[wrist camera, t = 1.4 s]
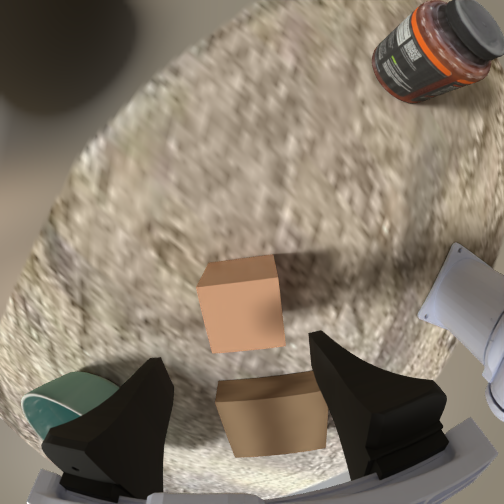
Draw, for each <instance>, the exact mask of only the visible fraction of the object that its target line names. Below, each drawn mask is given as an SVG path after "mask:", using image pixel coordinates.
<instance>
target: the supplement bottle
mask: <svg viewBox="0 0 504 504" xmlns="http://www.w3.org/2000/svg"><path fill="white" fill-rule="evenodd" d="M502 55H504V36H503V34H502V32H501V29H500V28H499V26H498V25H497V23H496V21H495V20H494V18H493V17H492V16H491V14H490V13H489V12H488V11H487V10H486V9H485V8H484V7H483V6H482V5H480V4H479V3H478V2H476V1H475V0H452V1H449V3H446V2H443V1H439V0H431V1H427V2H425V3H423V4H421V5H420V6H419V7H418V8H417V9H416V10H415V11H413V12H412V13H411V14H410V15H409V16H408V17H407V18H406V19H405V20H404V21H403V22H402V23H401V24H399V25H398V26H397V27H396V28H395V29H394V30H393V31H392V32H391V33H390V34H389V35H388V36H387V37H386V38H385V39H384V40H383V41H382V42H381V43H380V44H379V45H378V46H377V47H376V49H375V50H374V53H373V56H372V66H373V69H374V73H375V75H376V77H377V79H378V81H379V82H380V84H381V85H382V86H383V87H384V88H385V90H387V91H388V92H389V93H390V94H391V95H393V96H394V97H396V98H398V99H400V100H402V101H405V102H408V103H417V102H421V101H425V100H427V99H430V98H433V97H435V96H438V95H441V94H443V93H446V92H449V91H452V90H455V89H458V88H461V87H464V86H466V85H470V84H472V83H475V82H478V81H480V80H482V79H484V78H485V77H486V76H487V75H488V73H489V71H490V67H491V60H493V59H495V58H497V57H501V56H502Z"/></svg>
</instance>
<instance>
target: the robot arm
mask: <svg viewBox="0 0 504 504" xmlns="http://www.w3.org/2000/svg"><path fill="white" fill-rule="evenodd" d="M459 248H460V249H459ZM458 250H459V251H458ZM426 314H427V315H426ZM425 315H426V316H425ZM418 317H419V318H420V319H421V320H424V321H426V322H429V323H431V324H434V325H437V326H439V327H442V328H444V329H447V330H449V331H450V332H451V333H452V334H453V335H454V336H455V337H456V338H457V339H458V340H459V341H460V342H461V343H462V344H463V345H464V346H465V347H466V348H467V349H468V350H469V351H470V352H471V353H472V354H473V355H474V356H475V357H476V358H477V359H478V360H479V361H480V362H481V363H482V364H483V365H484V366H485V369H484V372H483V374H482V376H483V377H484V378H485V379H486V380H487V381H488V384H487V387H486V391H485V395H486V400H487V403H488V405H489V406H490V409H491V411H492V412H493V413H494V415H495V416H496V417H497V418H498V419H500V420H501V421H503V422H504V275H503V274H501V273H499V272H497V271H495V270H494V269H493V268H491V267H490V266H489V265H487V264H486V263H485V262H484V261H482V260H481V259H480V258H478V257H477V256H476V255H474V254H473V253H472V252H470V251H469V250H467V249H466V248H465V247H463V246H462V245H460V244H459V243H457V242H455V243H453V245H452V247H451V249H450V251H449V254H448V256H447V258H446V260H445V262H444V264H443V267H442V269H441V271H440V273H439V275H438V277H437V279H436V281H435V283H434V285H433V287H432V289H431V291H430V292H429V294H428V296H427V298H426V300H425V302H424V303H423V305H422V307H421V309H420V311H419V312H418ZM308 334H309V344H310V355H311V366H312V369H313V373H314V376H315V379H316V382H317V384H318V387H319V389H320V391H321V393H322V395H323V398H324V400H325V402H326V404H327V406H328V408H329V411H330V413H331V415H332V417H333V420H334V422H335V425H336V429H337V432H338V435H339V438H340V441H341V445H342V448H343V452H344V455H345V459H346V463H347V466H348V470H349V474H350V478H351V481H349V482H346V483H343V484H339V485H336V486H332V487H329V488H325V489H321V490H316V491H312V492H308V493H303V494H298V495H293V496H287V497H281V498H274V499H267V500H263V499H261V498H259V497H258V496H256V495H252V494H247V493H202V494H197V493H168V492H163V456H164V444H165V438H166V433H167V429H168V424H169V420H170V415H171V411H172V406H173V397H174V386H173V384H172V381H171V379H170V377H169V375H168V373H167V370H166V368H165V366H164V364H163V361H162V359H161V357H159V358H150V359H149V360H147V361H146V362H145V363H144V364H143V365H142V366H141V367H140V368H139V369H138V370H137V371H136V373H135V374H134V375H133V376H132V377H131V378H130V379H129V380H128V381H127V382H126V383H125V384H124V385H122V386H121V387H120V388H119V389H118V390H117V391H116V392H115V393H114V394H113V395H111V396H110V397H109V398H108V399H106V400H105V401H104V402H102V403H101V404H100V405H98V406H97V407H95V408H94V409H92V410H90V411H89V412H87V413H85V414H84V415H82V416H80V417H78V418H76V419H74V420H71V421H69V422H67V423H64V424H61V425H58V426H55V427H52V428H50V429H49V431H48V433H47V435H46V437H45V439H44V441H43V443H42V445H41V446H42V450H43V451H44V453H45V454H46V455H47V457H48V458H49V459H50V460H51V461H52V462H53V463H54V464H55V465H56V466H57V467H58V468H60V469H61V470H62V471H63V472H64V473H63V475H62V477H61V476H60V475H58V474H56V473H54V472H51V471H48V470H45V469H40V472H39V474H38V476H37V478H36V480H35V483H34V485H33V488H32V490H31V492H30V494H29V497H28V499H27V504H441V503H442V502H444V501H446V500H447V499H449V498H450V497H452V496H453V495H455V494H457V493H458V492H460V491H461V490H463V489H464V488H466V487H467V486H469V485H470V484H471V483H473V482H474V481H475V480H476V479H477V478H478V477H479V476H480V475H481V474H482V473H483V471H484V470H485V469H486V468H487V467H488V466H489V465H490V464H491V462H492V461H493V460H494V459H495V458H496V457H497V455H498V452H497V450H496V449H495V448H494V447H493V445H492V444H491V442H490V441H489V440H488V438H487V437H486V436H485V435H484V433H483V432H482V431H481V429H480V428H479V427H478V425H477V424H476V423H475V422H474V420H473V419H472V418H471V417H470V418H468V419H466V420H464V421H463V422H462V423H460V424H458V425H456V426H455V427H453V428H452V429H450V430H449V431H448V432H447V433H446V434H444V433H443V432H442V430H441V429H442V428H443V425H442V423H441V422H440V421H439V420H440V417H441V415H442V413H443V411H444V408H445V405H446V401H447V397H446V395H445V393H444V392H443V391H442V390H441V388H440V387H439V386H438V385H437V384H436V383H435V382H434V381H433V380H427V379H419V378H412V377H407V376H403V375H399V374H395V373H392V372H389V371H386V370H383V369H381V368H378V367H376V366H374V365H372V364H369V363H367V362H365V361H363V360H361V359H360V358H358V357H356V356H355V355H353V354H352V353H350V352H349V351H347V350H346V349H344V348H343V347H342V346H340V345H339V344H338V343H336V342H335V341H334V340H332V339H331V338H330V337H329V336H328V335H326V334H325V333H324V332H323V331H321V330H320V331H316V332H312V333H308Z"/></svg>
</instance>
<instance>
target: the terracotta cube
mask: <svg viewBox="0 0 504 504" xmlns="http://www.w3.org/2000/svg"><path fill="white" fill-rule="evenodd" d="M196 289H197V293H198V298H199V302H200V306H201V310H202V314H203V319H204V323H205V327H206V331H207V335H208V338H209V342H210V346H211V350H212V353H225V352H237V351H247V350H257V349H266V348H274V347H282V346H286V344H285V334H284V325H283V316H282V307H281V298H280V289H279V280H278V274H277V270H276V265H275V260H274V255H273V254H272V255H264V256H257V257H249V258H242V259H234V260H226V261H219V262H211V263H208V265H207V267H206V269H205V271H204V273H203V275H202V277H201V279H200V281H199V283H198V285H197V287H196Z"/></svg>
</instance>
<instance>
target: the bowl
mask: <svg viewBox="0 0 504 504" xmlns="http://www.w3.org/2000/svg"><path fill="white" fill-rule="evenodd" d="M119 388H120V387H118V386H117V385H116V384H114V383H112V382H111V381H109V380H107V379H105V378H103V377H100V376H97V375H93V374H90V373H86V372H70V373H68V374H66V375H63V376H61V377H59V378H57V379H55V380H52V381H50V382H48V383H46V384H44V385H42V386H40V387H38V388H36V389H34V390H32V391H30V392H28V393H27V394H25V395H24V396H23V397H22V399H21V407H22V410H23V413H24V415H25V417H26V419H27V421H28V422H29V424H30V425H31V427H32V428H33V429H34V431H35V432H36V433H37V434H38V436H39V437H40V438H41V439H42V440H43V441H44V439H45V437H46V435H47V433H48V431H49V429H50V428H52V427H55V426H58V425H61V424H64V423H67V422H69V421H71V420H74V419H76V418H78V417H80V416H82V415H84V414H85V413H87V412H89V411H90V410H92V409H94V408H95V407H97V406H98V405H100V404H101V403H102V402H104V401H105V400H106V399H108V398H109V397H110V396H111V395H113V394H114V393H115V392H116V391H117V390H118V389H119Z"/></svg>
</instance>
